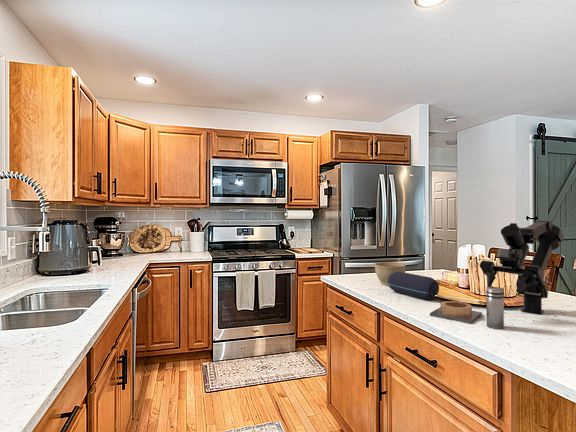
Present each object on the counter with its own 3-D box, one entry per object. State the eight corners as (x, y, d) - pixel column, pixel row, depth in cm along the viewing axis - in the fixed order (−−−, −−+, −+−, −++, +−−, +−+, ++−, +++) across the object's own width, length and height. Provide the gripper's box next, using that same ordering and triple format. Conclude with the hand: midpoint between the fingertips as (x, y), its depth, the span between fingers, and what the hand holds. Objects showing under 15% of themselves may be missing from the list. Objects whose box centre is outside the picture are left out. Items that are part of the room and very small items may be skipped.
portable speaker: (443, 300, 152) (443, 277, 152) (428, 303, 148) (428, 279, 148) (400, 289, 174) (399, 269, 174) (385, 291, 170) (385, 271, 169)
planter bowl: (368, 282, 192) (368, 262, 192) (394, 280, 197) (394, 261, 197) (385, 288, 177) (385, 267, 177) (412, 286, 181) (412, 265, 181)
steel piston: (488, 323, 120) (488, 285, 120) (505, 326, 116) (505, 288, 116) (484, 327, 116) (484, 288, 116) (502, 330, 113) (502, 290, 113)
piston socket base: (443, 308, 140) (443, 298, 139) (482, 314, 130) (482, 304, 130) (429, 315, 129) (429, 305, 129) (470, 323, 120) (470, 312, 120)
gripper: (481, 238, 130) (466, 271, 123) (540, 242, 115) (526, 279, 108) (491, 258, 134) (477, 290, 128) (549, 263, 119) (536, 300, 113)
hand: (502, 289), depth 119 cm, fingers open, 9 cm apart
